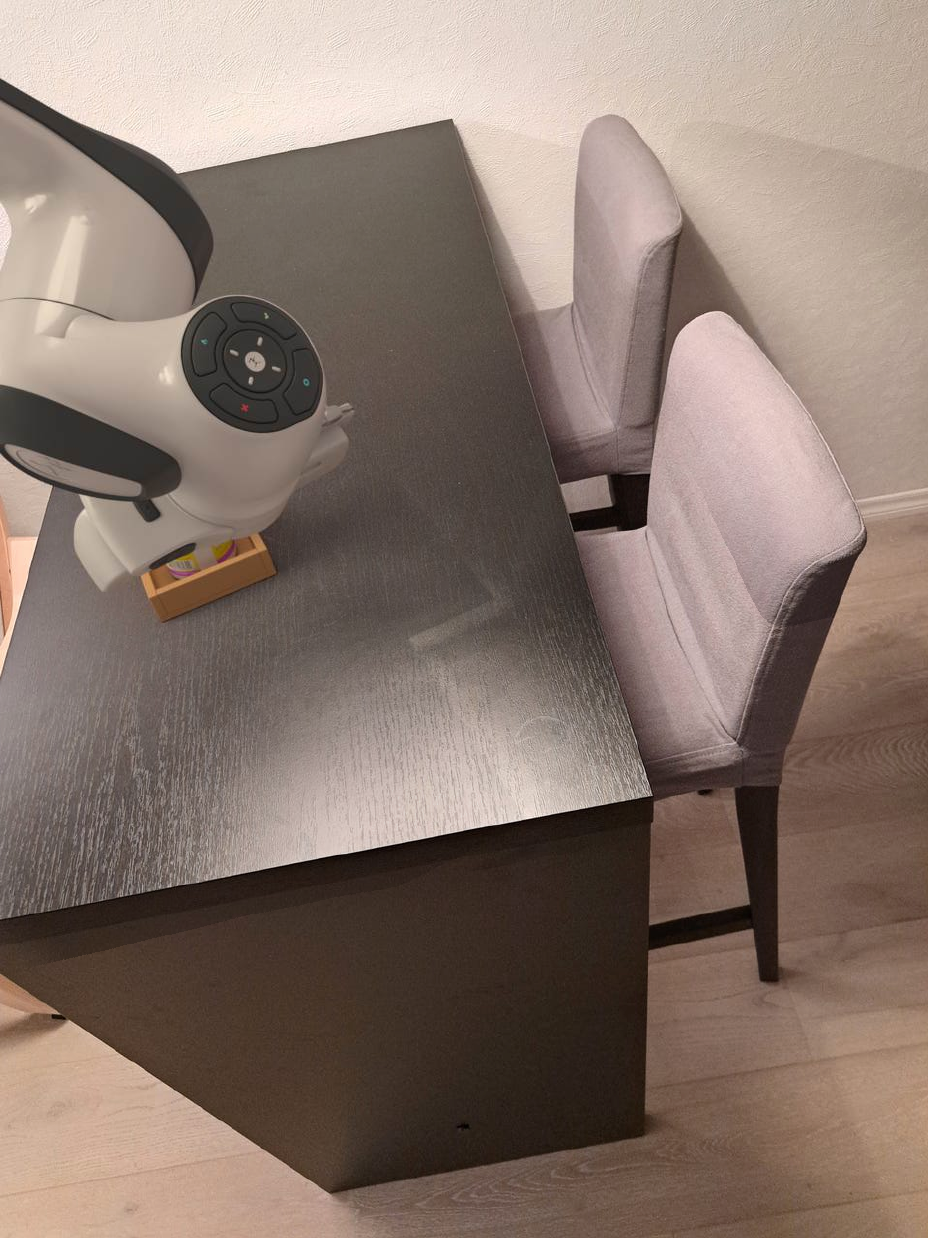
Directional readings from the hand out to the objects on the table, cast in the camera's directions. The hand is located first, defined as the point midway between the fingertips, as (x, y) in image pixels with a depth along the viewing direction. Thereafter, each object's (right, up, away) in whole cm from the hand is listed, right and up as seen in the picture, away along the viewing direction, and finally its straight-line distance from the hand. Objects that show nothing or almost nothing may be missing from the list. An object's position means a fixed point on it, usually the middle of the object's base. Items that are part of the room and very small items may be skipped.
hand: (211, 525), depth 73 cm
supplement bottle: (-5, -2, +16) cm, 17 cm away
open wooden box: (-5, -2, +16) cm, 17 cm away
